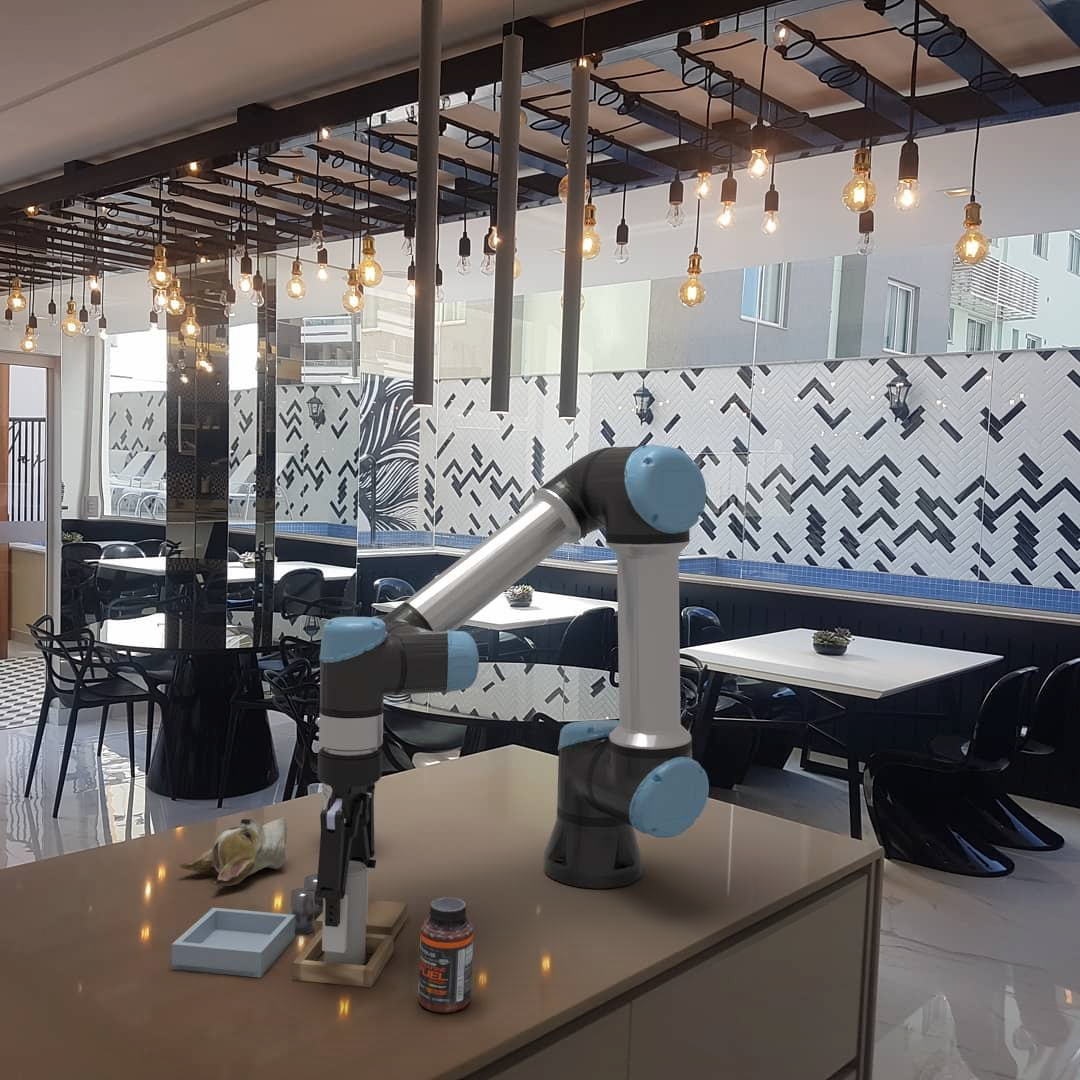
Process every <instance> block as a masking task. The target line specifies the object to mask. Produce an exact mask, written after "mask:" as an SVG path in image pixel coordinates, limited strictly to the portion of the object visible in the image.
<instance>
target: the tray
mask: <svg viewBox="0 0 1080 1080" xmlns="http://www.w3.org/2000/svg"><path fill="white" fill-rule="evenodd" d="M295 937H296V935H295V915H291V914H290V913H289V914H288V913H280V912H279V913H277V912H268V911H267V912H265V911H256V910H255V911H254V910H246V909H244V910H243V909H232V908H221V907H211V909H209V911H208V912H206V913H204V915H203V916H202V917H200V919H199V920H198V921H196V922H195V923H194V924H192V925H191V926H190V928H188V929H187V930H186V931H184V933H183V934H181V935H180V936H179V937H178V938H177V939H176V940H175V941H173V943H171V967H170V968H171V970H177V971H178V970H179V971H185V972H187V971H188V972H197V973H199V972H200V973H206V974H207V973H208V974H218V975H219V974H221V975H228V976H229V975H230V976H239V977H248V978H249V977H250V978H260V979H261V978H262V977H263V976H264V975H265V973H266V972H267V971H268V970H269V969H270V968H271V966H272V965H273V964H274V963H275V962H276V960H277V959H278V958H279V957H280V956H281V955H282V954H283V953H284V952H285V950H286V949H287V947H289V946H290V944H292V942H293V941H294V940H295Z"/></svg>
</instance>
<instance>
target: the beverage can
mask: <svg viewBox="0 0 1080 1080" xmlns="http://www.w3.org/2000/svg"><path fill="white" fill-rule="evenodd" d="M367 870H368V869H367V868H366V865H365V864H364V863H362V862H358V861H349V866H348V874H347V881H346V888H345V895H348V910H347V947H346V951H345V953H341V952H330V951H324V962H332V963H342V964H353V965H364V964H365V962H366V953H365V939H366V903H367Z"/></svg>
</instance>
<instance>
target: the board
mask: <svg viewBox="0 0 1080 1080" xmlns="http://www.w3.org/2000/svg"><path fill="white" fill-rule="evenodd" d="M408 905H409V904H408V902H400V901H387V900H375V899H368V913H367V922H366V933H367V934H378V935H389V936H394V939H395V938H396V936H397V934H399V932H400V930H401V928H402V927H403V925H404V923H406V920H407V919H408ZM322 927H323V912H322V913H321V915H320V916H319V917H318V918H317V919H314V930H315V931H314V936H315V935H316V934H317V933H318V931H319V930H320V929H322Z"/></svg>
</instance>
